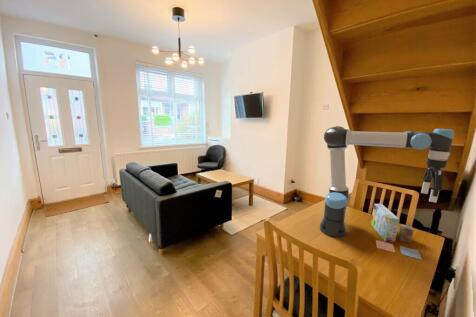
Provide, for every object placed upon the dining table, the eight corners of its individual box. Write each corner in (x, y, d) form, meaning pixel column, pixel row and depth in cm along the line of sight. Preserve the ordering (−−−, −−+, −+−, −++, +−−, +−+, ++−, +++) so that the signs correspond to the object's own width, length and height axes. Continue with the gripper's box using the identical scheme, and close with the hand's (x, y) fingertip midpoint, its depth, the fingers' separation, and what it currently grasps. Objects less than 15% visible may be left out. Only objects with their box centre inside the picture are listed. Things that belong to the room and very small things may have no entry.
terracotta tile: (376, 248, 113) (377, 247, 113) (375, 240, 120) (375, 240, 120) (394, 252, 109) (395, 252, 109) (392, 244, 116) (392, 244, 116)
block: (400, 240, 120) (402, 227, 118) (398, 236, 124) (401, 223, 123) (411, 243, 118) (413, 229, 116) (409, 238, 122) (411, 225, 120)
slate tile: (402, 254, 108) (402, 254, 108) (399, 246, 114) (399, 245, 114) (421, 260, 104) (422, 259, 104) (417, 251, 111) (418, 250, 111)
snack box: (396, 243, 117) (400, 219, 114) (385, 242, 118) (389, 218, 115) (379, 224, 138) (382, 203, 135) (369, 223, 139) (372, 202, 136)
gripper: (458, 164, 94) (447, 207, 99) (438, 155, 116) (429, 191, 120) (436, 162, 98) (426, 204, 102) (421, 154, 119) (413, 188, 124)
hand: (428, 197), depth 111 cm, fingers open, 13 cm apart
